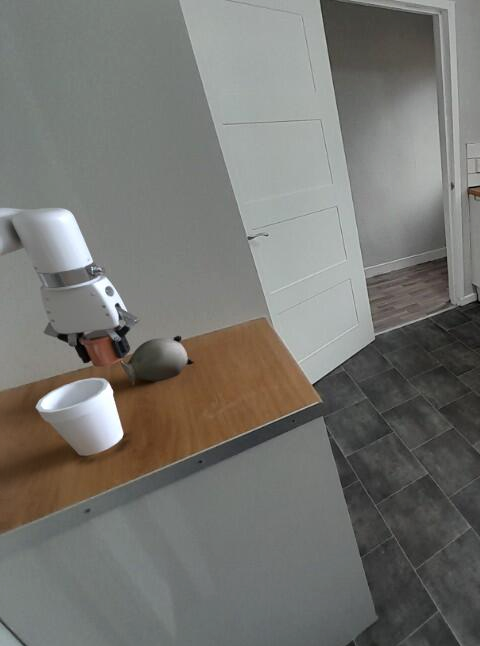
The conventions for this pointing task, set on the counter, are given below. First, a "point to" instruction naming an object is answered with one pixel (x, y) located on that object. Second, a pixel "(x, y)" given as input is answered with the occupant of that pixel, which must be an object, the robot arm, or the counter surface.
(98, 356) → the pot
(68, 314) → the robot arm
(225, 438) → the counter surface
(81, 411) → the foam cup
